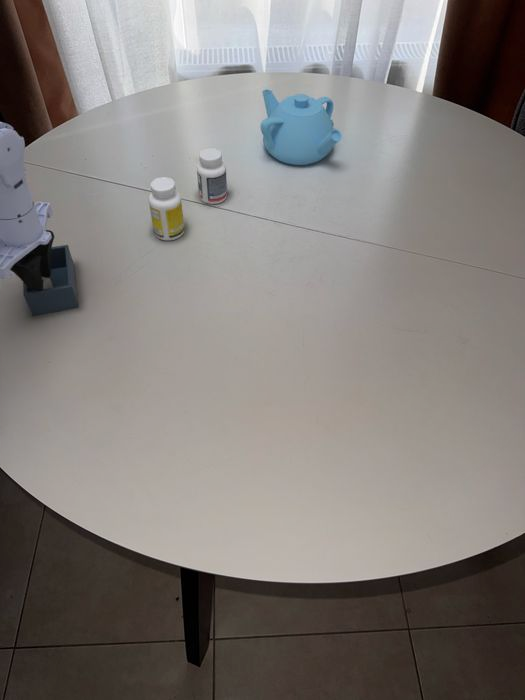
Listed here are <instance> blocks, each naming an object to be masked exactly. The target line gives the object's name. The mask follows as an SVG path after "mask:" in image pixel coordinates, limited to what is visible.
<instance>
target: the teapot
mask: <svg viewBox="0 0 525 700" xmlns="http://www.w3.org/2000/svg"><path fill="white" fill-rule="evenodd" d="M262 97H263V102H264V106H265V110H266V115H267V118H264V119H263V120H262V121H261V122H260V131H261V132H260V133H261V134H262V144H263V146H264V148H265V149H266V151H267V152H268V153H269V154H270V155H271V156H272V157H273V158H274V159H276V160H277V161H278V162H281V163H283V164H287V165H292V166H307V165H313V164H315V163H318V162H319V161H321V160H323V159H324V158H325V157H326V156H328V155H329V154H330V152H331V151H332V149H333V147H334V146H335V145H336V144H337V143H338V142H340V141H341V140H342V137H343V136H342V132H341V131H340V130H339V129H336V128H335V129H334V125H335V124H334V120H332V115H333V112H334V101H333V100H332V99H331V98H330V97H328V96H321V97H319V98H317V99H316V98H314V97H311V96H308V95H307V94H304V93H297V94H295V95H292V96H288V97H287V96H286V97H285V98H284V99H282V100H281V101H280V102H279V100H277V98H276V95H275V94H274V92H273V90H271V89H268V88H266V89H264V90H262ZM324 104H326V107H324Z"/></svg>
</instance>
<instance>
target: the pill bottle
mask: <svg viewBox="0 0 525 700" xmlns="http://www.w3.org/2000/svg"><path fill="white" fill-rule="evenodd" d="M198 161H199V163H198V164H197V166H196V176H197V187H198V196H199V199H200V200H201V201H202V202H204V203H206V204H210V205H217V204H220V203H223V202H224V201H225V200H226V199H227V197H228V183H227V167H226V164H225V163H224V162H223V155H222V152H221V151H220V150H219V149H218V148H214V147H213V148H212V147H209V148H204V149H202V150H200V151H199V154H198Z"/></svg>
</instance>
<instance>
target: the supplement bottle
mask: <svg viewBox="0 0 525 700" xmlns="http://www.w3.org/2000/svg"><path fill="white" fill-rule="evenodd" d="M150 191H151V193H150V194H149V196H148V205H149V211H150V217H151V223H152V229H153V233H154V235H155V237H156V238H158V239H159V240H162V241H175V240H177V239H179V238H181V237H182V236H183V234H184V233H185V221H184V213H183V205H182V198H181V195H180V192H178V190H177V188H176V182H175V180H173V178H170V177H166V176H162V177H157V178H154V179H153V180H152V181H151V183H150Z"/></svg>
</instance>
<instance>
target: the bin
mask: <svg viewBox="0 0 525 700" xmlns="http://www.w3.org/2000/svg"><path fill="white" fill-rule="evenodd" d="M76 277H77V276H76V268H75V264H74V260H73V257H72V254H71V250H70V248H69V244H64V245H57V246H52V248H51V276H50V277H49V278H50V280H51V282H52V285H53V288H48V289H42V290H41V291H38V290H37V291H33V290H31V289H29V288H28V287H27V286H26V285H25V283H24V282H23V281H22V287H23V288H22V289H23V291H22V292H23V293H22V294H23V298H24V300H25V302H26V305H27V307H28V310H29V311H30V314H31V316H39V315H43V314H45V315H46V314H50V313H56V312H61V311H67V310H72V309H77V308H78V309H79V308H80V307H79V305H80V304H79V297H78V287H77V278H76ZM44 278H47V277H44Z"/></svg>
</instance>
